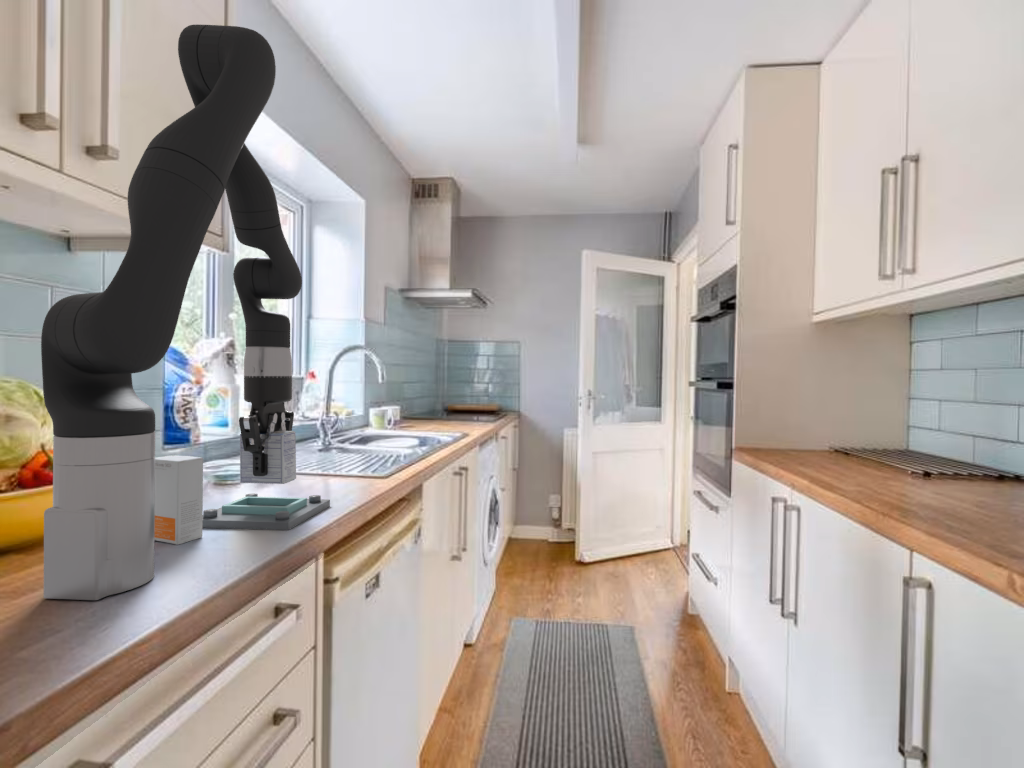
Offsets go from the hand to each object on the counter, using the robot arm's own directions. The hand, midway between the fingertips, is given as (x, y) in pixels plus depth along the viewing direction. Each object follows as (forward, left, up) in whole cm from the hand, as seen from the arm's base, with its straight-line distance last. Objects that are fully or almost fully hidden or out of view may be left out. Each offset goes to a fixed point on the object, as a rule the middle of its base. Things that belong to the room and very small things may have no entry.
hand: (268, 472), depth 91 cm
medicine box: (0, 0, -2) cm, 2 cm away
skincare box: (-14, +6, -8) cm, 17 cm away
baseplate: (0, 0, -7) cm, 7 cm away
